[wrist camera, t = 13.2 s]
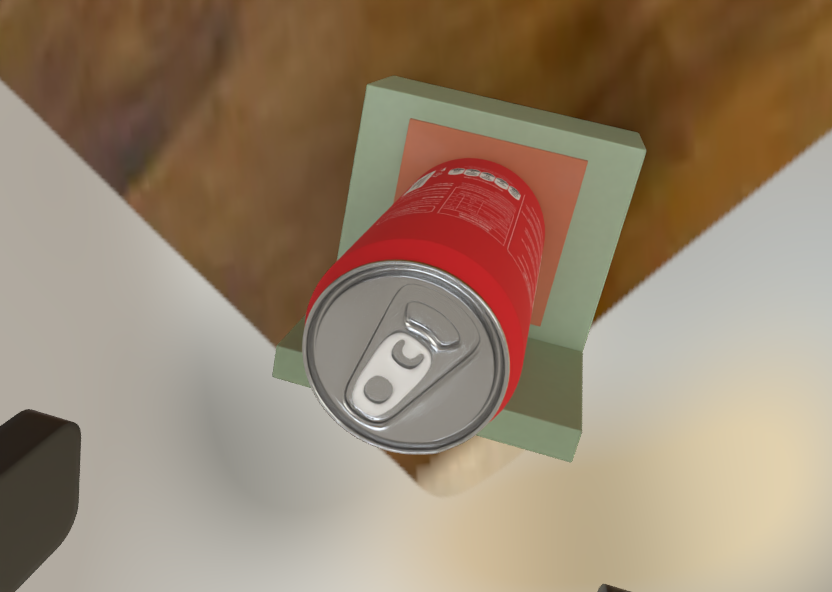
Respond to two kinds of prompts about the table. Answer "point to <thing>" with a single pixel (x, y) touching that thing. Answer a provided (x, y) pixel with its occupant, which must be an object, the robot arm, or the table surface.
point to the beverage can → (429, 311)
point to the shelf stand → (563, 217)
